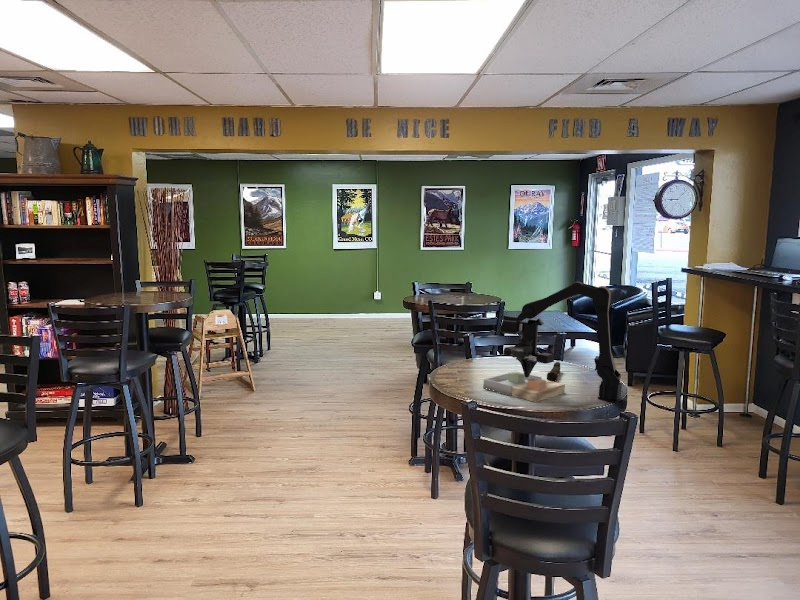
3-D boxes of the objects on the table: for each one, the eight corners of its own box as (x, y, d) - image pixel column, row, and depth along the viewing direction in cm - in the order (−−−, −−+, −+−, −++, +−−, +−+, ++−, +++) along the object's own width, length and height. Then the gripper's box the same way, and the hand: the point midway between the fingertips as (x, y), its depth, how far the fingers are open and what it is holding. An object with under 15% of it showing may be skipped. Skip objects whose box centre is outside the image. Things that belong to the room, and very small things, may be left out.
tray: (541, 386, 213) (541, 377, 212) (510, 395, 199) (510, 386, 199) (514, 379, 221) (514, 371, 221) (483, 388, 208) (483, 379, 207)
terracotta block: (545, 388, 198) (545, 380, 198) (538, 391, 195) (538, 382, 195) (534, 386, 201) (534, 378, 201) (527, 388, 198) (527, 380, 198)
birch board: (564, 392, 205) (565, 384, 205) (535, 402, 192) (536, 393, 192) (540, 386, 212) (541, 378, 212) (511, 395, 199) (511, 387, 199)
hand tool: (556, 382, 220) (557, 371, 219) (546, 381, 221) (547, 369, 221) (564, 372, 237) (565, 361, 236) (555, 371, 238) (555, 360, 238)
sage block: (515, 371, 216) (514, 379, 217) (508, 373, 213) (508, 380, 213) (525, 373, 213) (524, 381, 213) (518, 375, 210) (518, 383, 210)
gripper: (495, 334, 209) (493, 375, 211) (539, 342, 196) (536, 386, 198) (513, 331, 217) (510, 371, 219) (556, 339, 204) (553, 381, 206)
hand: (526, 377), depth 210 cm, fingers closed
